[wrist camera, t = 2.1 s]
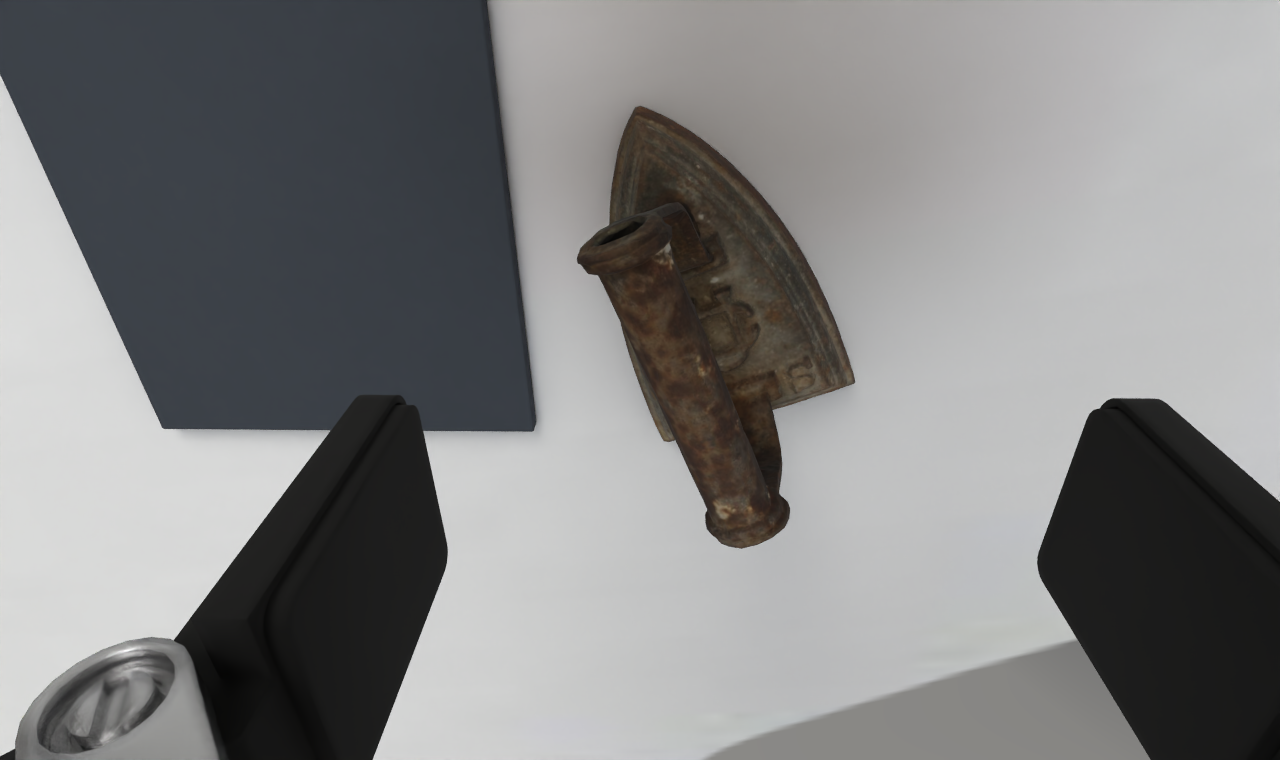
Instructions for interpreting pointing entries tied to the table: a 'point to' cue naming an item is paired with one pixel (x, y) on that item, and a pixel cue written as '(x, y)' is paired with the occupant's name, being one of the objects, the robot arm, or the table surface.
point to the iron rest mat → (285, 201)
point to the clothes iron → (713, 318)
